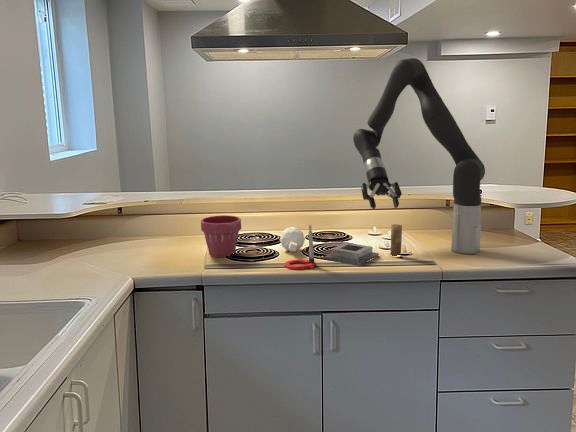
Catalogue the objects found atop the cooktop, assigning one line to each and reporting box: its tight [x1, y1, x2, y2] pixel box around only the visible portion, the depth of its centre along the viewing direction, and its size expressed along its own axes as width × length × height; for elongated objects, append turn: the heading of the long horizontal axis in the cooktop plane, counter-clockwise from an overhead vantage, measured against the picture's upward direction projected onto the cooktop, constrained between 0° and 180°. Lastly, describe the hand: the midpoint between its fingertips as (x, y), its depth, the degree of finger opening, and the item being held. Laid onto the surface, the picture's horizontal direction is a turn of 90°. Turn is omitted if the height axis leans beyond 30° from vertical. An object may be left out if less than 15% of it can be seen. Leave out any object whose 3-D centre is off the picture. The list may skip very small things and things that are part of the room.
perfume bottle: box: [279, 226, 306, 253], centre depth 204 cm, size 9×9×12 cm
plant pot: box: [200, 214, 242, 258], centre depth 201 cm, size 14×14×13 cm
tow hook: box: [283, 224, 315, 270], centre depth 186 cm, size 9×14×10 cm
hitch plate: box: [323, 242, 380, 266], centre depth 196 cm, size 14×14×4 cm
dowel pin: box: [389, 223, 403, 256], centre depth 197 cm, size 4×4×11 cm
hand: (385, 207), depth 206 cm, fingers open, 8 cm apart
